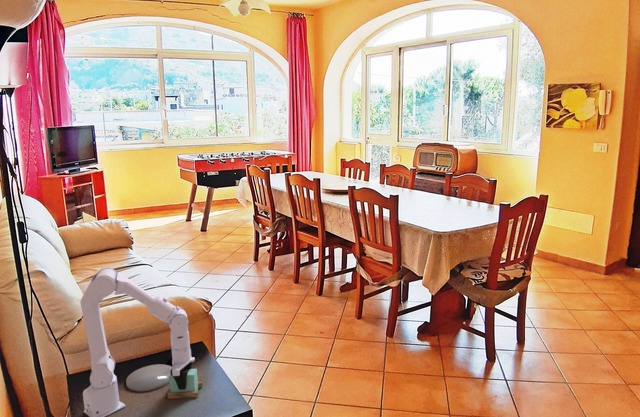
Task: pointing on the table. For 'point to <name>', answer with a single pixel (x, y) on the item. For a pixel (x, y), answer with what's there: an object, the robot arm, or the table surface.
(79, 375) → the table surface
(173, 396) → the brown wooden frame
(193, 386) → the tall mint rectangular block
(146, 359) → the table surface
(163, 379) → the plate
